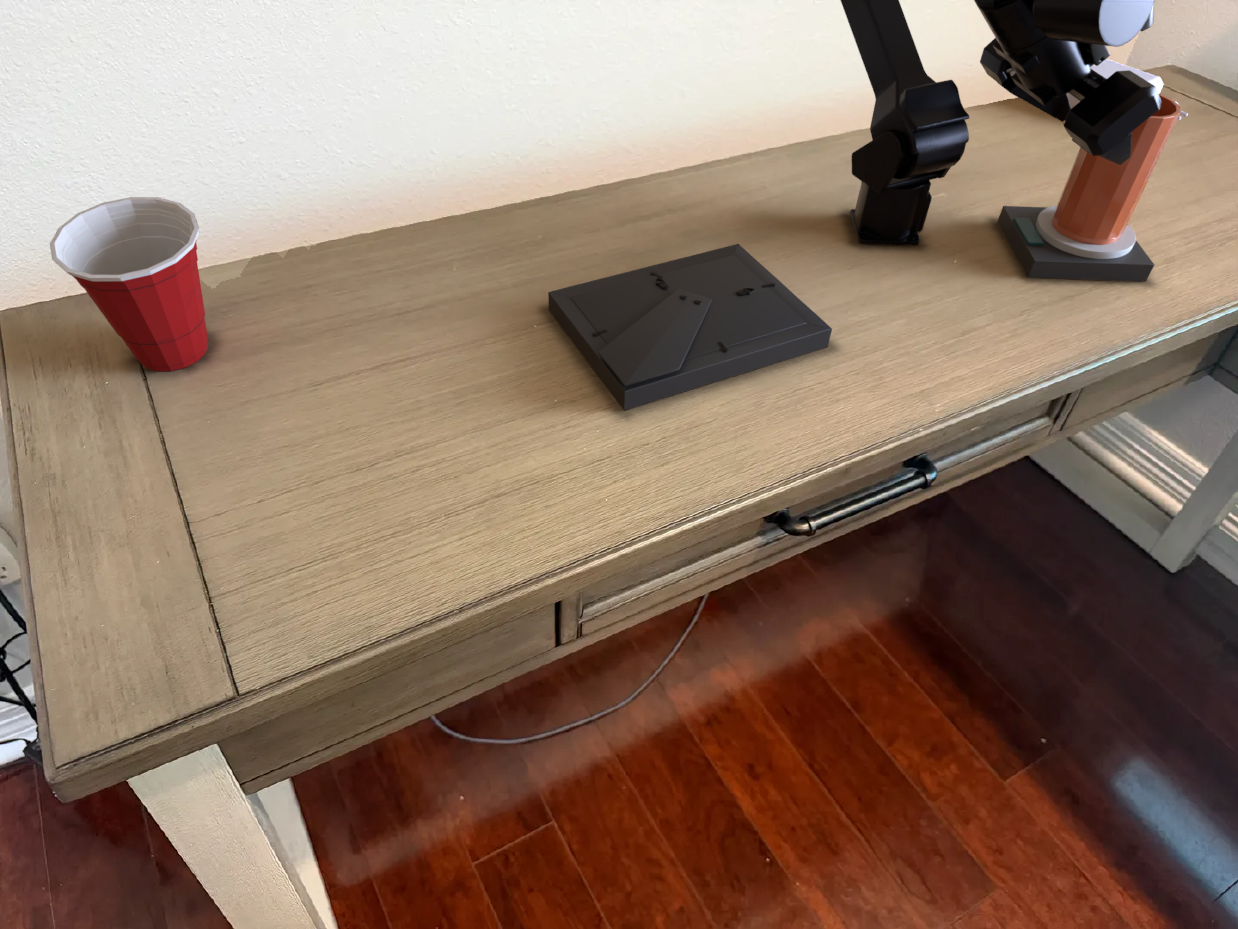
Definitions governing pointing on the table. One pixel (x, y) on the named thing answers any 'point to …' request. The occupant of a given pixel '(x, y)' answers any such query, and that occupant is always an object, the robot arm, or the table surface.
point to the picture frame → (685, 324)
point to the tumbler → (1112, 183)
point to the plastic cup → (140, 275)
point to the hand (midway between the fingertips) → (1094, 138)
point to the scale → (1069, 249)
